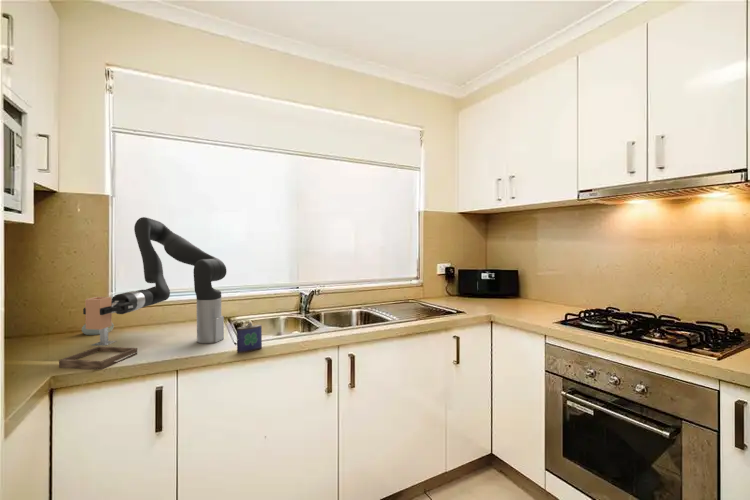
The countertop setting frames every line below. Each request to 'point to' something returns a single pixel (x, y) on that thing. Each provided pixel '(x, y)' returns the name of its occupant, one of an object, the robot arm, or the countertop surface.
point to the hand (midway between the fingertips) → (92, 311)
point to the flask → (249, 338)
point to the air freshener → (94, 330)
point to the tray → (86, 364)
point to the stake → (104, 338)
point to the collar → (97, 313)
